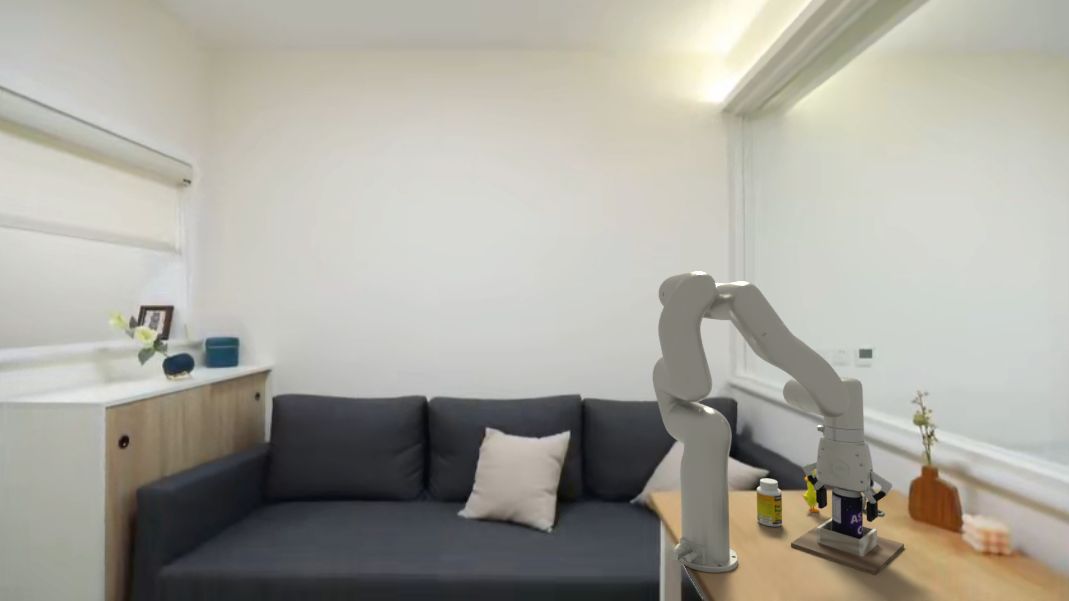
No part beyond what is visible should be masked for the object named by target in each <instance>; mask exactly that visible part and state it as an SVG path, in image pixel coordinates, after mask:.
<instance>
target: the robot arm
mask: <svg viewBox="0 0 1069 601" xmlns="http://www.w3.org/2000/svg"><path fill="white" fill-rule="evenodd" d="M658 299H659V301H660V304H661V305H662V306H663V308H662V311H661V313H660V315H659V320H658V324H657V325H658V326H657V327H658V328H657V329H658V330H657V331H658V337H659V338H658V339H659V343H660V350H661V353H662V354H661V355H662V357H660V358H659V359H657V361H656V363H655V364H654V366H653V370H652V384H653V388H654V389H653V390H654V393H655V396H656V401H657V403H658V408H659V411H660V416H661V419H662V422H663V425H664V427H665V429H666V431H667V433H668V434H669V435H670V436H671V437H672V438H673V439H675V440H676V441H678V442H680V443H681V444H682V445H683V451H682V456H681V461H680V472H679V474H680V476H679V480H680V510H681V512H680V515H681V517H680V520H681V524H680V525H681V538H679V543H678V544H676V545H675V547H674V548H673V550H671V551H670V552H669V556H670V559H672V561H675V562H676V561H678V562H679V563H681V564H682V565H684V566H686V567H687V568H691V569H693V570H696V571H701V572H704V573H705V572H706V573H724V572H725V573H727V572H729V571H732V570H734V569H736V567H737V566H738V565H739V557H738V556H739V555H738V554H737V553H736V551H735V550H733V549H732V548H730V546H731V545H730V544H731V542H730V541H731V540H730V508H729V507H730V506H729V504H730V503H729V501H730V500H729V495H730V494H729V457H730V451H731V445H732V428H731V425H730V422H729V421H728V419H727V418H726V417H725V415H723V413H721V412H720V411H718V410H717V409H715V408H713V407H711V406H708V405H705V404H703V403H700V402H701V401H704V400H705V399H707V398H708V397H709V395H710V394H711V392H712V388H713V378H712V374H711V370H710V367H709V363H708V359H707V356H706V352H705V348H704V344H703V340H702V334H701V333H702V332H701V325H702V321H703V319H709V320H717V321H730V322H731V323H732V324H733V326H734V327H735V328H736V330H737V331H738V332H739V333H740V335H741V336H742V337H743V339H744V340H745V341H746V343H747V344H748V346H749V347H750V349H751V350H752V351H753V352H754V354H755V355H756V356H757V357H759V358H761V360H763V361H764V362H765V363H768V364H770V365H771V366H774V367H776V368H778V369H780V370H781V371H784V372H785V373H786V374H788V375H789V376H791V377H792V378H791V379H789V380H788V381H787V382H785V384H784V386H783V389H782V395H783V398H784V400H785V402H786V403H787V404H788V405H789V406H790V407H792V408H794V409H796V410H799V411H802V412H805V413H811V414H814V415H818V416H822V417H823V424H822V425H818V426H817V428H816V429H817V432H821V433H822V437H820V438H819V442H818V448H817V454H816V462H814V463H808V464H809V465H804V466H803V467H802V471H803V472H804V473H805V477H806V476H807V478H808V480H809V481H810V482H811V484H812V485H813V487H814V489H815V492H816V502H817V505H818V508H817V509H819V510H820V509H821V510H822V509H824V508H826V507H827V506H828V492H827V491H828V490H827V487H825V486H828V487H829V486H830V487H833V488H834V487H837V488H842V489H846V490H850V491H855V492H861V493H862V495H865V496H866V500H867V501H866V506H865V509H866V512H867V513H866V521H867V522H868V523H872V522H873V521H874V520H876V519H878V517H879V516H878V510H879V506H878V504H879V501H880V500H882V499H883V498H885V497H886V496H887V495H888V494H889V492H890V491H891V489H892V488H893V484H892V483H891V482H890V481H888V480H886V479H885V478H884V477H882V476H881V475H879V474H877V473H876V472H875V471H874V466H873V459H872V455H871V450H870V447H869V443H868V442H865V428H864V427H865V426H864V425H865V423H864V422H865V419H864V418H865V417H864V416H865V415H864V393H863V392H864V390H863V384H862V382H861V381H860V380H858V379H857V378H853V377H848V376H847V377H846V376H845V377H844V376H839V374H838V373H837V372H836V370H835V369H834V368H833V367H832V366H831V364H830V363H829V362H828V361H827V360H826V359H825V358H824V357H823V356H821V355H820V354H819V353H818V352H817V351H815V350H814V349H813V348H811V347H810V346H809V345H808V344H806V343H805V342H804V341H803V340H801V339H800V338H798V337H797V336H795V335H794V334H793V333H792V331H790V330H789V328H788V327H787V325H786V324H785V323H784V321H783V320H782V319H781V318H780V315H779V314H778V312H776V310H775V309H774V307H773V306H772V305H771V303H770V302H769V301H768V300H767V298H766V297H765V295H764V294H763V293H762V291H761V290H760V289H759V288H758V287H757V286H756V285H755V284H753V283H751V282H748V281H734V282H725V283H719V282H716V281H715V278H714V277H713V276H712V275H710V274H709V273H707V272H704V271H689V272H684V273H680V274H675V275H672V276H668V278H666V279H664V280H663V282H662V283H661V284H660V286H659V289H658ZM814 469H815V475H816V476H817V477H816V476H815V475H814V474H813V470H814ZM874 482H875V483H876V484H877V485H879V486H880V487H881V488H880V490H879V491H878V492H876V490H875V489H874V488H873V487H874V485H875V483H874Z"/></svg>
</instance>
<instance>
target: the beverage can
mask: <svg viewBox="0 0 1069 601" xmlns="http://www.w3.org/2000/svg"><path fill="white" fill-rule="evenodd" d="M862 495H863V493H862V492H855V491H850V490H846V489H842V488H837V487H833V489H832V491H831V518H832V531H834V532H837V533H840V534H844V535H847V536H851V537H854V538H857V539H861V538H862V537H863V526H864V524H863V520H864V519H863V518H864V517H863V516H864V515H863V514H864V513H863V511H864V510H863V496H862Z"/></svg>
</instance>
